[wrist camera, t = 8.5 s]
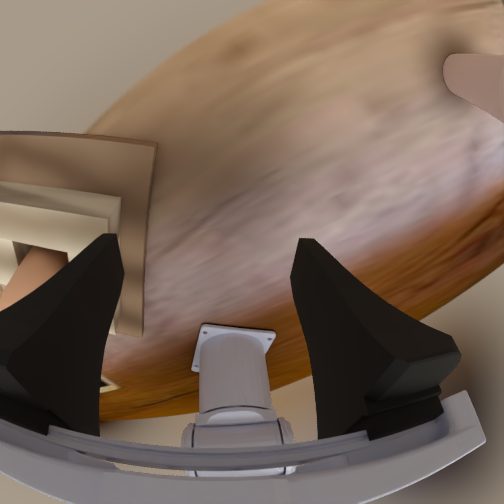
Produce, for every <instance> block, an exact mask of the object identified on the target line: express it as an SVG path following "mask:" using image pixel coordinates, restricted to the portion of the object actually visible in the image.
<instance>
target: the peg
mask: <svg viewBox="0 0 504 504" xmlns="http://www.w3.org/2000/svg"><path fill="white" fill-rule="evenodd" d="M67 263H69V260H68V253H67V252H63V251H58V250H53V249H48V248H43V247H39V246H34V245H33V247H32V248H31V249H30V251H29V252H28V254H27V255H26V256H25V258H24V259H23V261H22V262H21V264H20V265H19V267H18V268H17V270H16V271H15V273H14V274H13V276H12V278H11V279H10V281H9V282H8V284H7V286H6V287H5V289H4V291H3V292H2V294H1V296H0V311H2V310H4V309H5V308H7V307H9V306H11V305H12V304H14V303H15V302H17V301H18V300H20V299H22V298H23V297H25V296H26V295H28V294H29V293H31V292H32V291H34V290H35V289H36V288H38V287H39V286H40V285H42V284H43V283H45V282H46V281H47V280H48V279H50V278H51V277H52V276H53V275H55V274H56V273H57V272H58V271H59V270H60V269H62V268H63V267H64V266H65V265H66V264H67Z"/></svg>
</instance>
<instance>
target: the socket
mask: <svg viewBox="0 0 504 504" xmlns="http://www.w3.org/2000/svg"><path fill="white" fill-rule="evenodd" d="M157 146H158V143H155V142H148V141H141V140H134V139H126V138H117V137H108V136H98V135H88V134H75V133H60V132H40V131H0V284H1V287H2V289H3V291H4V289H5V287H6V286H7V284H8V282H9V281H10V279H11V278H12V276H13V274H14V273H15V271H16V270H17V268H18V267H19V265H20V264H21V262H22V261H23V259H24V258H25V256H26V255H27V254H28V252H29V251H30V249H31V248H32V247H33V245H34V246H39V247H43V248H48V249H53V250H58V251H63V252H67V253H68V260H69V262H70V261H71V260H72V259H73V258H74V257H75V256H77V255H78V254H79V253H80V252H81V251H82V250H83V249H85V248H86V247H87V246H88V245H89V244H90V243H91V242H93V241H94V240H95V239H96V238H97V237H99V236H100V235H101V234H103V233H117V238H118V243H119V249H120V253H121V258H122V263H123V267H124V272H125V275H124V280H123V286H122V290H121V295H120V298H119V301H118V304H117V308H116V311H115V314H114V317H113V320H112V324H111V327H110V330H109V333H108V334H113V335H116V333H119V334H124V335H130V336H135V337H141V338H142V336H143V331H144V325H143V315H144V273H145V254H146V239H147V227H148V216H149V206H150V197H151V188H152V180H153V173H154V166H155V159H156V152H157Z"/></svg>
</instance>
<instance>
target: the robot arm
mask: <svg viewBox="0 0 504 504" xmlns="http://www.w3.org/2000/svg"><path fill="white" fill-rule="evenodd" d="M124 275H125V272H124V267H123V263H122V258H121V253H120V249H119V243H118V238H117V233H103V234H101V235H100V236H99V237H97V238H96V239H95V240H94V241H93V242H91V243H90V244H89V245H88V246H87V247H86V248H85V249H83V250H82V251H81V252H80V253H79V254H78V255H77V256H75V257H74V258H73V259H72V260H71V261H70V262H69V263H67V264H66V265H65V266H64V267H63V268H62V269H60V270H59V271H58V272H57V273H56V274H55V275H53V276H52V277H51V278H50V279H48V280H47V281H46V282H45V283H43V284H42V285H40V286H39V287H38V288H36V289H35V290H34V291H32V292H31V293H29V294H28V295H26V296H25V297H23V298H22V299H20V300H18V301H17V302H15V303H14V304H12V305H11V306H9V307H7V308H5V309H4V310H2V311H0V473H2V474H4V475H5V476H7V477H9V478H11V479H13V480H15V481H17V482H19V483H21V484H23V485H25V486H27V487H29V488H31V489H33V490H36V491H38V492H40V493H42V494H45V495H47V496H50V497H52V498H54V499H57V500H60V501H62V502H65V503H68V504H364V503H367V502H370V501H372V500H375V499H378V498H380V497H383V496H385V495H388V494H391V493H393V492H395V491H398V490H400V489H402V488H404V487H407V486H409V485H411V484H413V483H415V482H417V481H420V480H422V479H424V478H425V477H428V476H430V475H431V474H433V473H435V472H437V471H439V470H441V469H443V468H444V467H446V466H448V465H450V464H451V463H453V462H455V461H456V460H458V459H460V458H461V457H463V456H465V455H466V454H468V453H469V452H471V451H473V450H474V449H476V448H477V447H479V446H481V445H482V444H484V443H485V442H486V438H485V435H484V433H483V430H482V427H481V425H480V422H479V420H478V417H477V415H476V412H475V410H474V407H473V405H472V403H471V400H470V398H469V396H468V393H467V391H462V392H460V393H457V394H455V395H453V396H450V397H448V398H446V399H444V400H442V401H441V402H440V400H439V397H438V395H440V394H441V388H440V386H439V384H440V383H441V382H442V381H443V380H444V379H445V378H446V377H447V376H448V375H449V374H450V373H451V372H452V371H453V370H454V369H455V368H456V367H457V365H458V364H459V362H460V359H461V353H460V351H459V349H458V347H457V346H456V344H455V342H454V340H453V338H452V336H450V335H448V334H445V333H443V332H441V331H439V330H436V329H434V328H432V327H429V326H427V325H425V324H423V323H421V322H419V321H418V320H416V319H414V318H412V317H410V316H408V315H407V314H405V313H403V312H402V311H400V310H399V309H397V308H395V307H394V306H392V305H391V304H389V303H388V302H386V301H385V300H383V299H382V298H381V297H379V296H378V295H377V294H375V293H374V292H372V291H371V290H370V289H369V288H367V287H366V286H365V285H364V284H363V283H361V282H360V281H359V280H358V279H357V278H356V277H354V276H353V275H352V274H351V273H350V272H349V271H348V270H347V269H345V268H344V267H343V266H342V265H341V264H340V263H339V262H338V261H337V260H336V259H335V258H334V257H333V256H332V255H331V254H330V253H329V252H328V251H327V250H326V249H325V248H324V247H323V246H321V245H320V244H319V243H318V242H317V241H316V240H315V239H311V238H299V241H298V246H297V250H296V254H295V258H294V263H293V267H292V271H291V275H290V280H291V287H292V293H293V299H294V303H295V306H296V309H297V313H298V316H299V320H300V323H301V326H302V330H303V333H304V336H305V340H306V343H307V347H308V351H309V357H310V363H311V369H312V376H313V383H314V391H315V401H316V412H317V430H318V440H314V441H307V442H300V443H295V440H294V435H293V430H292V427H291V424H290V423H289V422H288V421H287V420H285V419H284V418H283V417H281V418H277V416H276V410H275V409H273V408H272V401H271V394H270V387H269V380H268V374H267V367H266V360H265V354H266V352H267V351H268V349H269V347H270V345H271V344H272V342H273V340H274V338H275V337H276V334H275V332H274V331H265V330H254V329H244V328H235V327H226V326H217V325H209V324H203V325H202V326H201V329H200V333H199V337H198V341H197V346H196V350H195V354H194V359H193V363H192V371H195V372H199V414H196V415H195V423H190V424H188V426H187V427H186V428H185V429H184V431H183V434H182V443H181V447H169V446H158V445H149V444H140V443H132V442H125V441H118V440H112V439H107V438H102V437H100V430H99V396H100V381H101V371H102V363H103V356H104V349H105V345H106V341H107V337H108V333H109V330H110V327H111V324H112V320H113V317H114V314H115V311H116V308H117V304H118V301H119V298H120V295H121V290H122V286H123V280H124ZM99 459H101V460H99ZM103 460H106V461H111V462H117V463H122V464H128V465H135V466H142V467H151V468H159V469H171V470H184V471H185V474H186V476H171V475H157V474H149V473H140V472H133V471H125V470H120V469H119V468H117V467H116V466H115V465H114V464H113V463H109V462H106V461H103ZM303 464H304V465H303ZM297 465H300V466H297Z"/></svg>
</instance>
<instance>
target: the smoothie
mask: <svg viewBox="0 0 504 504" xmlns="http://www.w3.org/2000/svg"><path fill="white" fill-rule="evenodd" d="M443 77H444V81H445V84H446V86H447V87H448V89H449V90H450V91H451V92H452V93H453V94H455V95H457V96H459V97H461V98H463V99H465V100H467V101H468V102H470V103H472V104H474V105H476V106H477V107H479V108H481V109H482V110H484V111H486V112H487V113H489V114H491V115H492V116H494V117H495V118H497V119H498V120H500V121H502V122H503V123H504V55H492V54H451V55H449V56H448V57H447V58H446V60H445V62H444V65H443Z"/></svg>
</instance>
